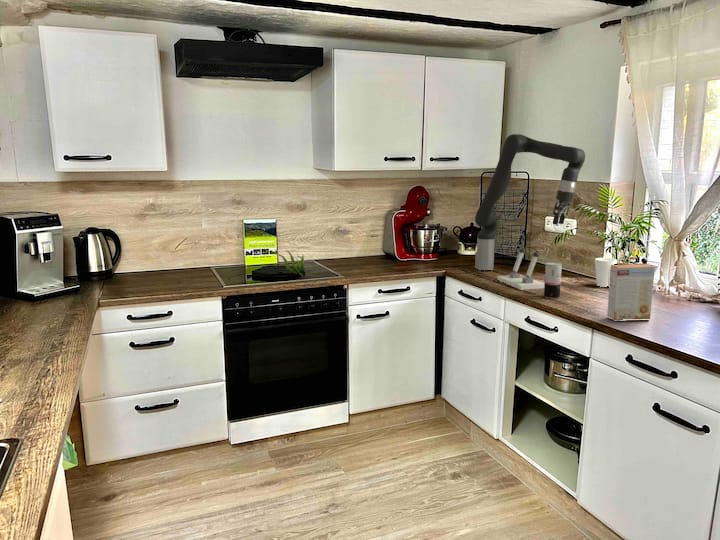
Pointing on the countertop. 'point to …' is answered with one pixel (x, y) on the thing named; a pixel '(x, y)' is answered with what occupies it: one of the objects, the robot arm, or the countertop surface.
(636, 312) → the cracker box
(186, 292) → the countertop surface
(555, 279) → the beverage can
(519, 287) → the switch base
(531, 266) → the lever
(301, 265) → the decorative plant
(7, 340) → the countertop surface
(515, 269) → the lever
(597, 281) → the foam cup
